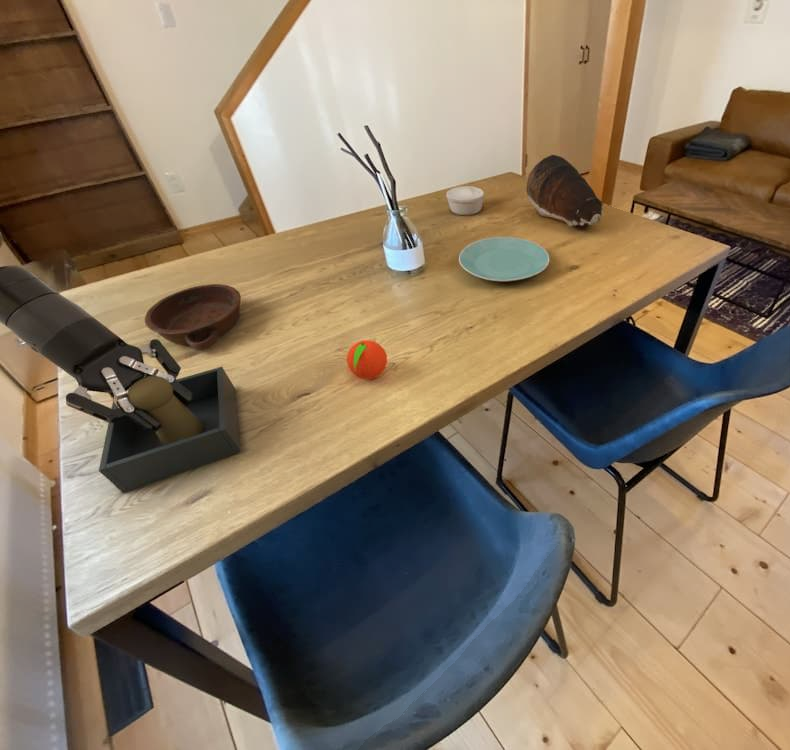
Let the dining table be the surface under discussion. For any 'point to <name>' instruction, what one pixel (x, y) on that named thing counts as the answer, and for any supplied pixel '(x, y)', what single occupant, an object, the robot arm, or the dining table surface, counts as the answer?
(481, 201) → the ramekin
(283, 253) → the dining table surface
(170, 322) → the dish
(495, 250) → the plate
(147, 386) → the cork
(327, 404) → the dining table surface
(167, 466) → the bin
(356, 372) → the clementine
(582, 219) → the taro root
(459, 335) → the dining table surface
